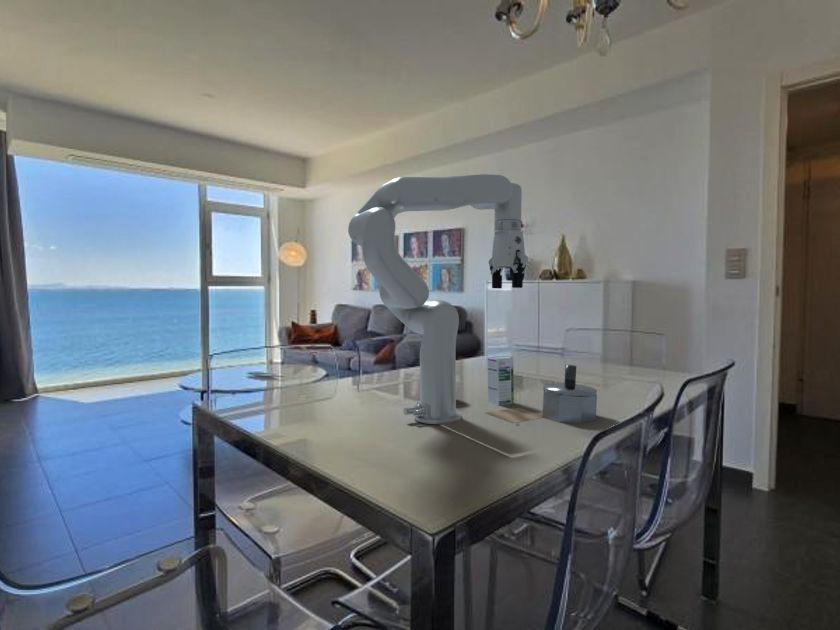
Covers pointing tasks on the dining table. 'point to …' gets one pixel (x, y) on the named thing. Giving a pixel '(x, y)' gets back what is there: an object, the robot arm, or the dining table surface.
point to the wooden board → (515, 415)
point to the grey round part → (569, 400)
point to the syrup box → (500, 380)
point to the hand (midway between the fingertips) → (506, 288)
